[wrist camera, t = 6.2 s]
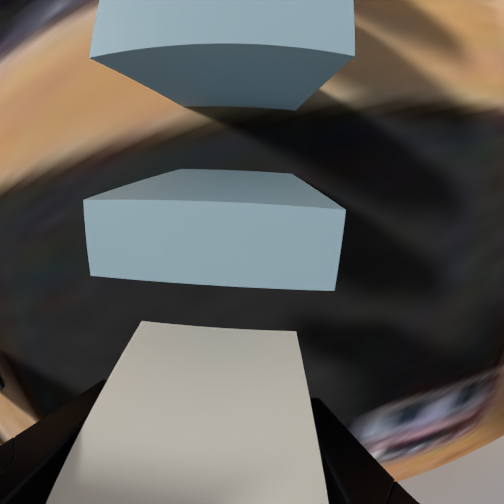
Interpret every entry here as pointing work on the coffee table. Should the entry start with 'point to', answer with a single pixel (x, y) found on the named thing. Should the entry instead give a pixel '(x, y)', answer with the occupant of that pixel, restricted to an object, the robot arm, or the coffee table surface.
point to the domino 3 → (199, 423)
